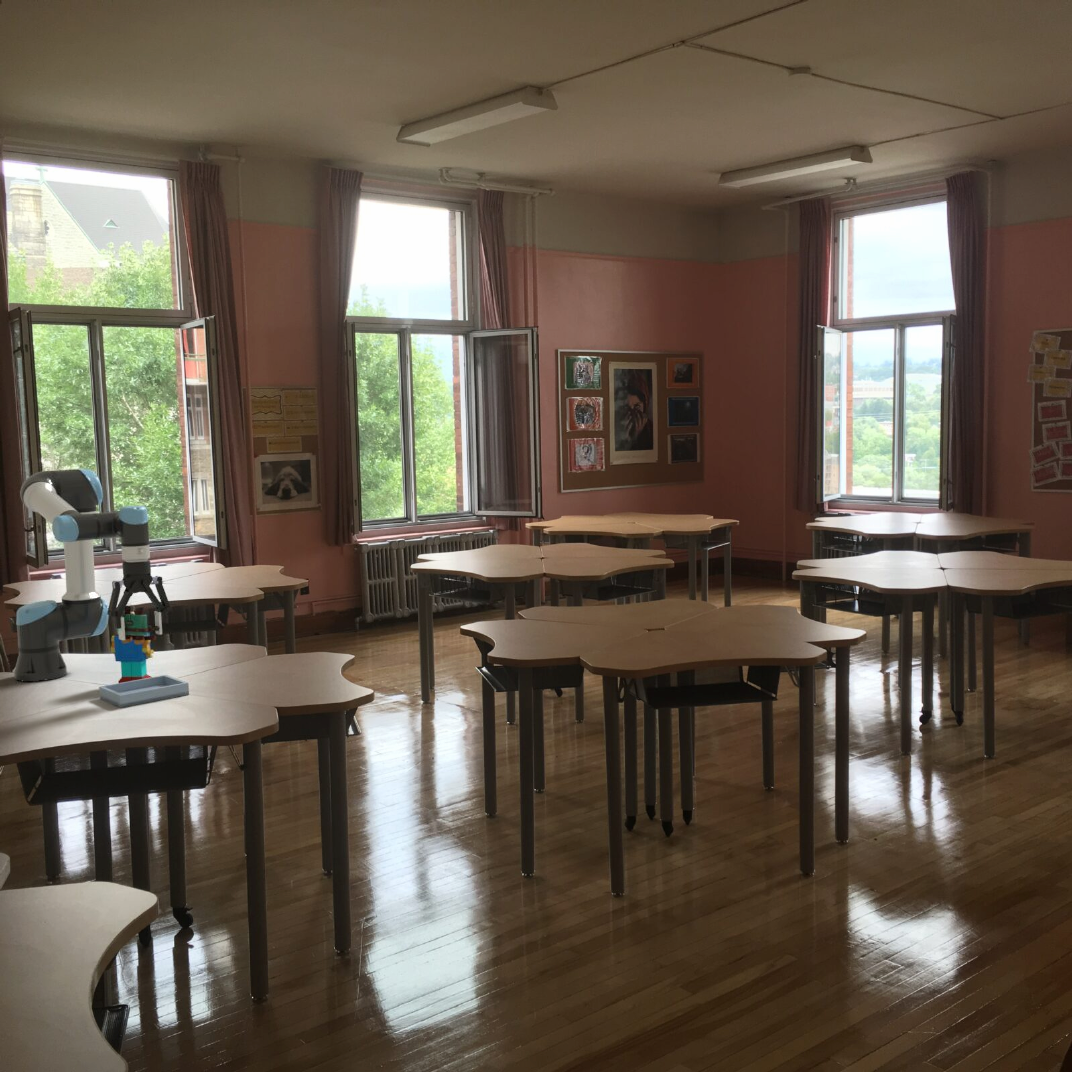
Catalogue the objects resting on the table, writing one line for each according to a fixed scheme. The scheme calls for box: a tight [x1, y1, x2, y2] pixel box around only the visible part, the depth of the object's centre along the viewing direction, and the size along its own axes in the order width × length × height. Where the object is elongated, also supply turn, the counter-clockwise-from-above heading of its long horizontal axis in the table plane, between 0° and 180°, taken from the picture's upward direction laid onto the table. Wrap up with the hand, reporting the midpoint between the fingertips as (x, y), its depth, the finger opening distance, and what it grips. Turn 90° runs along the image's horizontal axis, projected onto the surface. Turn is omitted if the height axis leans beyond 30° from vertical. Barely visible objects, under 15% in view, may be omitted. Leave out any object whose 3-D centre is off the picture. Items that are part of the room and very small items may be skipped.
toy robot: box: [110, 603, 155, 683], centre depth 327 cm, size 12×6×25 cm, turn 84°
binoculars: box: [121, 605, 160, 644], centre depth 311 cm, size 9×11×10 cm
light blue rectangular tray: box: [98, 674, 190, 709], centre depth 314 cm, size 15×20×4 cm
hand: (140, 636), depth 312 cm, fingers closed on binoculars, 10 cm apart
